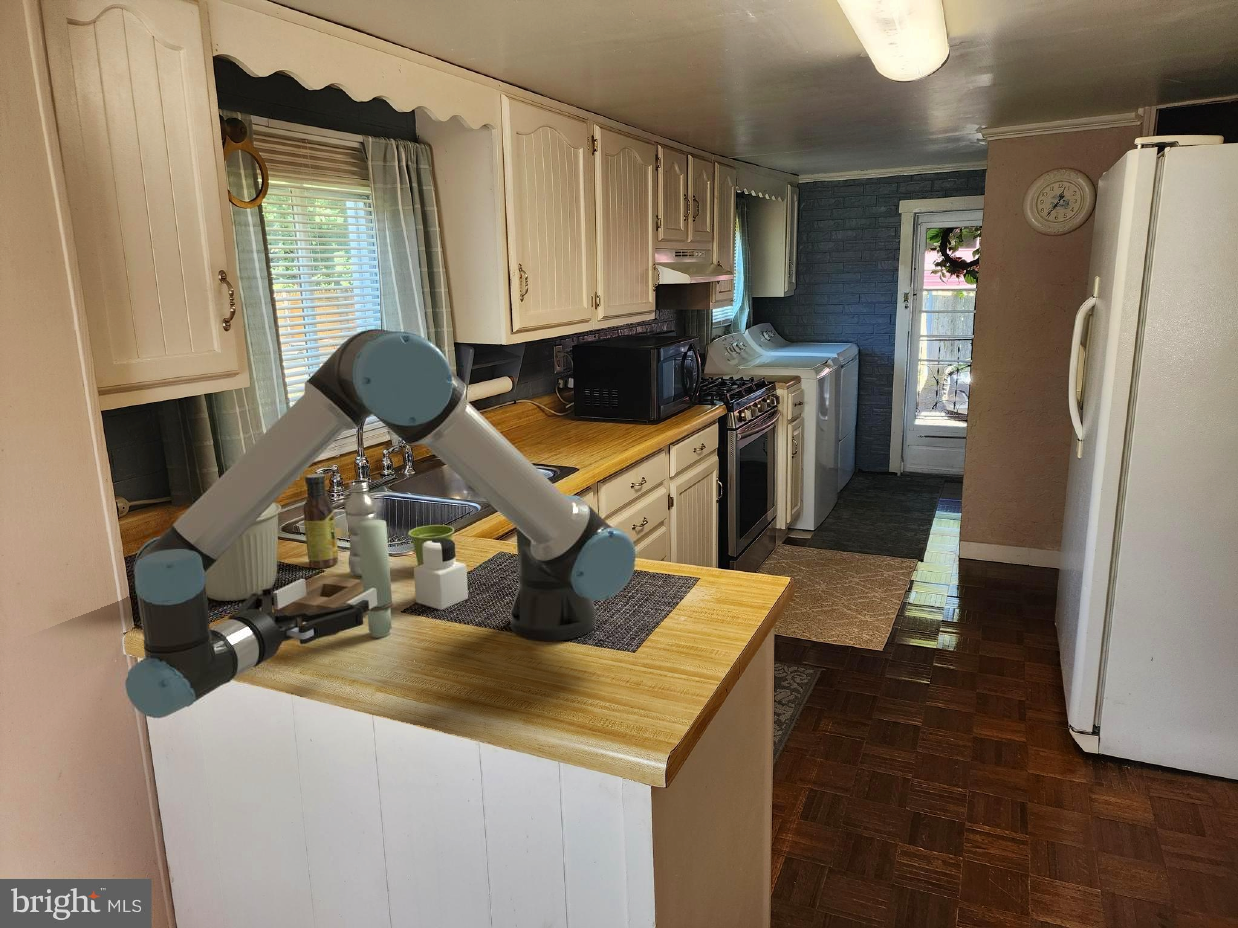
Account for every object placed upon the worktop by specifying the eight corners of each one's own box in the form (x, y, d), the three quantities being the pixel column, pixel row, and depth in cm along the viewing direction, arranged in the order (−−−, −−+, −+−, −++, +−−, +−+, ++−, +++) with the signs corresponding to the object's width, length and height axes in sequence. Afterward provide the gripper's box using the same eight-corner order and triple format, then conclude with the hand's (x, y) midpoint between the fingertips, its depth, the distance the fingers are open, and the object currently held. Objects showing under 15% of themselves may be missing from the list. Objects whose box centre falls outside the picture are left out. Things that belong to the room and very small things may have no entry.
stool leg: (400, 630, 148) (391, 520, 144) (384, 641, 144) (375, 528, 140) (377, 627, 150) (368, 518, 145) (361, 637, 145) (351, 525, 141)
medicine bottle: (443, 591, 167) (439, 533, 164) (468, 598, 163) (465, 539, 160) (415, 602, 161) (410, 542, 158) (441, 610, 157) (437, 549, 154)
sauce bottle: (341, 566, 182) (333, 476, 178) (310, 571, 180) (301, 480, 175) (336, 557, 188) (328, 470, 184) (306, 562, 185) (298, 474, 181)
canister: (236, 573, 179) (225, 476, 175) (308, 581, 174) (298, 481, 169) (167, 603, 162) (153, 497, 158) (245, 613, 157) (232, 504, 152)
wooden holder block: (379, 607, 159) (377, 582, 158) (335, 634, 147) (333, 607, 146) (322, 599, 163) (320, 575, 162) (274, 625, 151) (272, 598, 150)
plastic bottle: (369, 567, 181) (362, 476, 177) (388, 574, 177) (381, 481, 173) (343, 575, 176) (335, 482, 172) (362, 582, 172) (354, 487, 168)
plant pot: (403, 569, 180) (400, 530, 178) (442, 559, 186) (440, 521, 184) (424, 580, 173) (421, 540, 171) (464, 570, 179) (462, 531, 177)
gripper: (173, 656, 121) (277, 604, 140) (317, 682, 113) (407, 623, 132) (166, 607, 119) (273, 561, 139) (312, 629, 111) (404, 577, 131)
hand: (338, 591), depth 135 cm, fingers open, 13 cm apart
